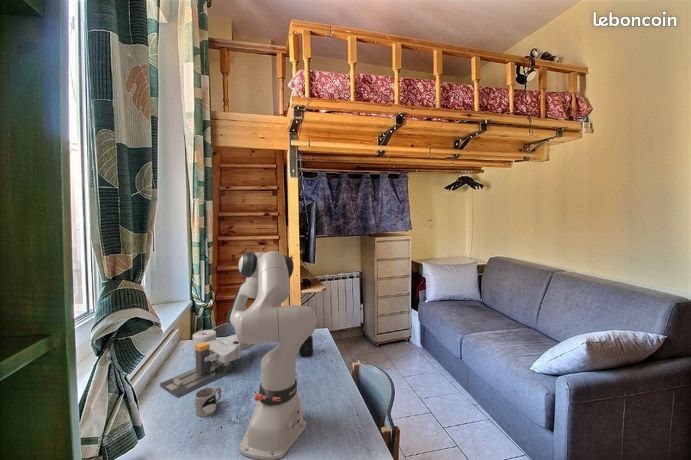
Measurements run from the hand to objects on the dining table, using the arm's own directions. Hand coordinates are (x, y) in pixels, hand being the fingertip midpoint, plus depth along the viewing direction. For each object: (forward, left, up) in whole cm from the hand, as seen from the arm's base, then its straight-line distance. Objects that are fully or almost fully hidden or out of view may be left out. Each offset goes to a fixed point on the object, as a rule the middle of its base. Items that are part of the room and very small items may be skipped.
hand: (200, 357), depth 133 cm
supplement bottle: (+29, -37, -8) cm, 48 cm away
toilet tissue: (+21, +13, -9) cm, 26 cm away
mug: (-18, -17, -9) cm, 27 cm away
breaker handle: (+1, 0, -6) cm, 7 cm away
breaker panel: (0, 0, -8) cm, 8 cm away
